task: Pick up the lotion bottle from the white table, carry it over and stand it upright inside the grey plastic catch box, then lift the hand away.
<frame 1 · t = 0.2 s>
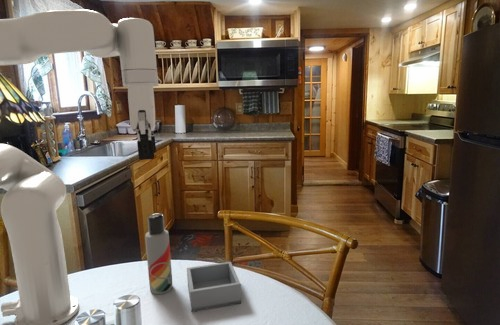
hand: (148, 155, 77), 35 cm above the table, tool pointing down, fingers open, 9 cm apart
catch box: (213, 294, 83), on the table
lotion bottle: (161, 289, 86), on the table
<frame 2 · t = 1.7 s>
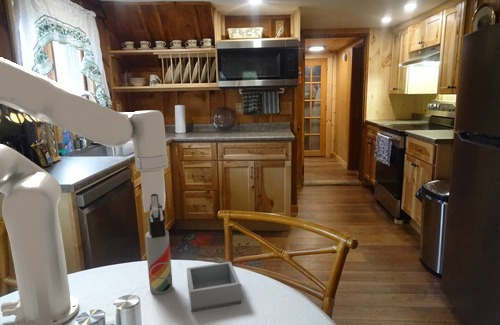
hand: (159, 229, 84), 16 cm above the table, tool pointing down, fingers open, 9 cm apart
nothing on the table moved.
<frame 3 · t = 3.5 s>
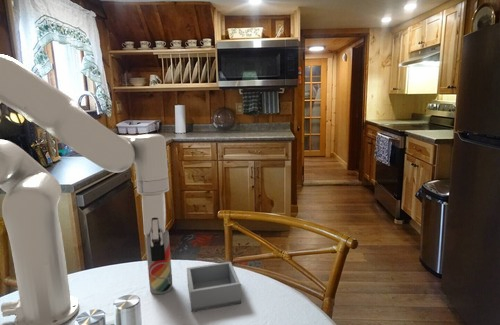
hand: (158, 254, 84), 10 cm above the table, tool pointing down, fingers closed on lotion bottle, 5 cm apart
lotion bottle: (161, 289, 86), on the table, touching gripper
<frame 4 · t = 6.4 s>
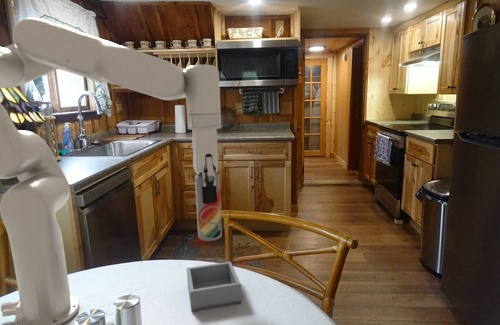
hand: (208, 198, 79), 25 cm above the table, tool pointing down, fingers closed on lotion bottle, 5 cm apart
lotion bottle: (210, 237, 80), point 15 cm above the table, touching gripper
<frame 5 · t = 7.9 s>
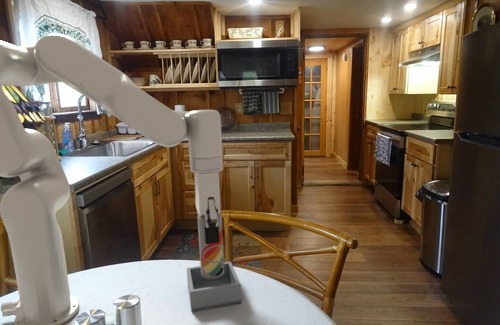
hand: (210, 236, 80), 15 cm above the table, tool pointing down, fingers closed on lotion bottle, 5 cm apart
lotion bottle: (212, 274, 82), point 5 cm above the table, touching gripper
when the fingers open (12 cm above the table, at t = 9.4 s): lotion bottle drops 1 cm, resting on catch box.
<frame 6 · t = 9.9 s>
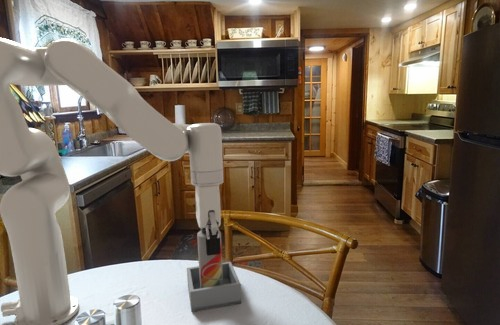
hand: (210, 245, 81), 13 cm above the table, tool pointing down, fingers open, 9 cm apart
lotion bottle: (211, 290, 83), point 1 cm above the table, touching catch box
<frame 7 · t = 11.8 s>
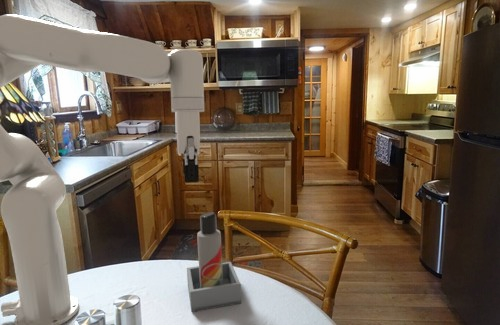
hand: (190, 177, 81), 29 cm above the table, tool pointing down, fingers open, 9 cm apart
nothing on the table moved.
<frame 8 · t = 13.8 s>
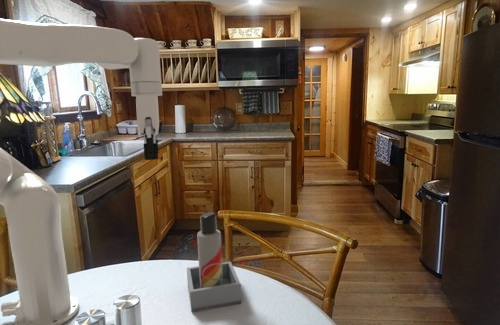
hand: (152, 156, 88), 33 cm above the table, tool pointing down, fingers open, 9 cm apart
nothing on the table moved.
at the end: lotion bottle 0.5 cm off-centre on the catch box, point 0.6 cm above the catch box's base; lotion bottle tilted 0°; the gripper is holding nothing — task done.
